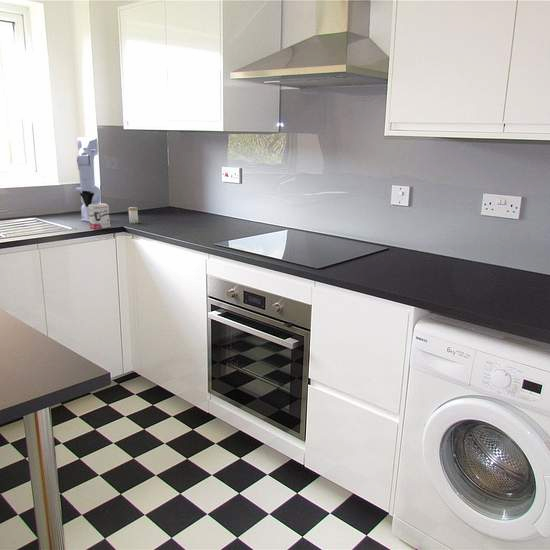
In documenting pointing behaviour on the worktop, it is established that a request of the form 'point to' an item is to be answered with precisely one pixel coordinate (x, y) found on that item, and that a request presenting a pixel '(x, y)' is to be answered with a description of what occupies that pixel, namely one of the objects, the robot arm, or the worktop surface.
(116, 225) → the worktop surface
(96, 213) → the ink box
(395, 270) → the worktop surface
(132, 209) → the spice jar
